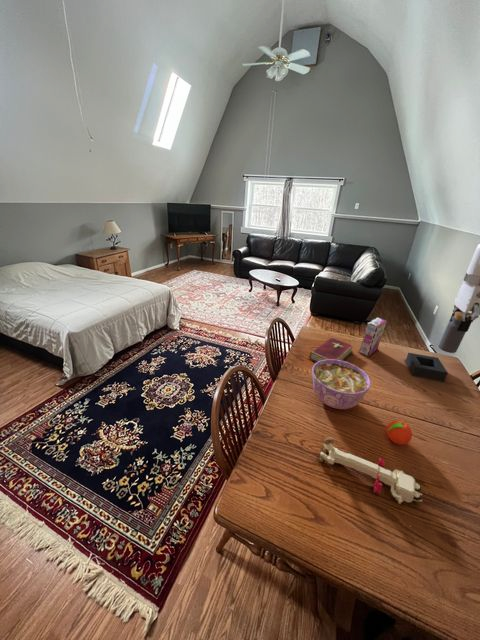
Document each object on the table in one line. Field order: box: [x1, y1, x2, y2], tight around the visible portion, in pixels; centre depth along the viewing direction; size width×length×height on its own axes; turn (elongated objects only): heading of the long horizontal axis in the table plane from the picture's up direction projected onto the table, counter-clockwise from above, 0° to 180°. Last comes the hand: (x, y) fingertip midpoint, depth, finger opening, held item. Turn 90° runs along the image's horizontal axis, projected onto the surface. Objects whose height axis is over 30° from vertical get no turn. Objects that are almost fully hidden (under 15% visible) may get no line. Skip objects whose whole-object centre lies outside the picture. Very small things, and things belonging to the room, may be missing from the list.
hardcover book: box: [309, 336, 355, 363], centre depth 127 cm, size 12×21×4 cm, turn 137°
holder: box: [405, 352, 449, 382], centre depth 119 cm, size 12×12×4 cm
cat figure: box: [318, 436, 423, 505], centre depth 71 cm, size 10×9×25 cm
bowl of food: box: [311, 359, 372, 410], centre depth 98 cm, size 20×20×12 cm
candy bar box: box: [358, 317, 387, 357], centre depth 130 cm, size 11×5×16 cm, turn 133°
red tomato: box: [385, 420, 413, 446], centre depth 83 cm, size 8×7×7 cm
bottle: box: [438, 312, 471, 354], centre depth 100 cm, size 6×6×15 cm
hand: (457, 326), depth 99 cm, fingers closed on bottle, 5 cm apart
